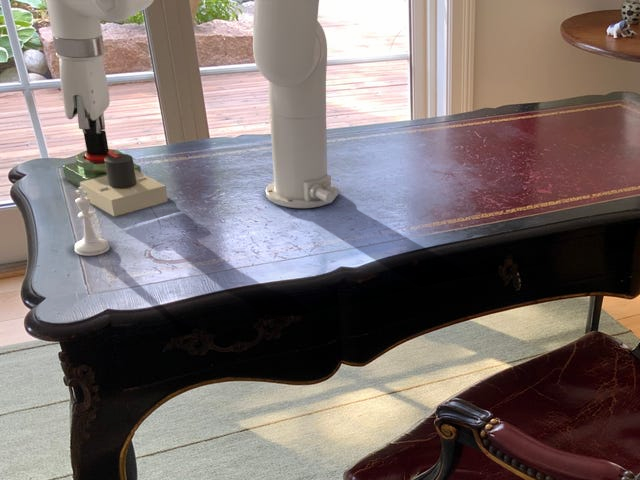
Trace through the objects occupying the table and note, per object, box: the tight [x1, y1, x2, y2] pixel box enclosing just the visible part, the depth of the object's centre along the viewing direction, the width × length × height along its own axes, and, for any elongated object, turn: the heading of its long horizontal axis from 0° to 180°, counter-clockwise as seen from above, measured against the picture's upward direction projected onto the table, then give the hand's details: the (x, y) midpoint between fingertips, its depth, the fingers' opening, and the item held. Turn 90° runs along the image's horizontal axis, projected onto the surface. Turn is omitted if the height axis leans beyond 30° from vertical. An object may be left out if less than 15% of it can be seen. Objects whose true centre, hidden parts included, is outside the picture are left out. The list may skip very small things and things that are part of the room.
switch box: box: [62, 148, 142, 188], centre depth 147 cm, size 10×8×4 cm
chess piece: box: [74, 187, 111, 257], centre depth 123 cm, size 5×5×10 cm
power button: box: [85, 150, 114, 162], centre depth 146 cm, size 5×5×2 cm
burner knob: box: [104, 153, 136, 188], centre depth 138 cm, size 4×4×5 cm
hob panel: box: [80, 170, 169, 217], centre depth 141 cm, size 10×10×3 cm
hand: (98, 153), depth 145 cm, fingers closed
